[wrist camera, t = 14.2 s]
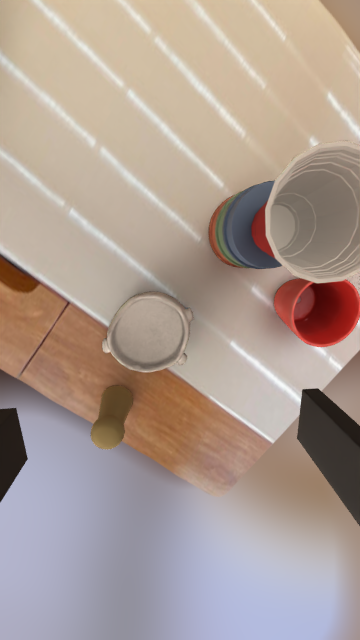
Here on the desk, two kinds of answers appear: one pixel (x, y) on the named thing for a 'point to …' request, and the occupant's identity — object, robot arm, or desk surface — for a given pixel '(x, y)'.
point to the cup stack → (240, 229)
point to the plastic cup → (315, 214)
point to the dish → (149, 332)
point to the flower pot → (318, 310)
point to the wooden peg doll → (111, 417)
